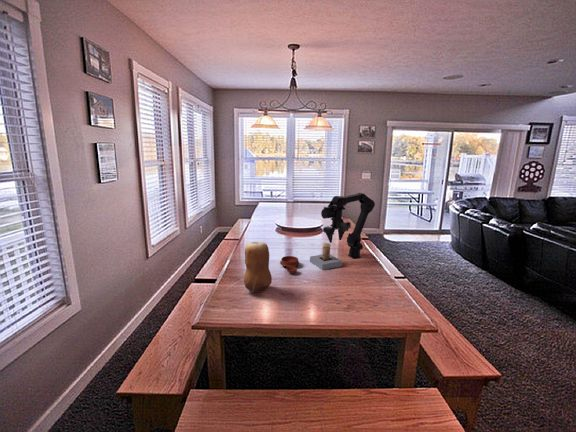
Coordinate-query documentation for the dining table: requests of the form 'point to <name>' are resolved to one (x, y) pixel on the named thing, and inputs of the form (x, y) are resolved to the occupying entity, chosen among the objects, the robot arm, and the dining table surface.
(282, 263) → the pottery
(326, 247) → the tan wooden cylinder
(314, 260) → the socket block
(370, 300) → the dining table surface
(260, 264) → the butternut squash
